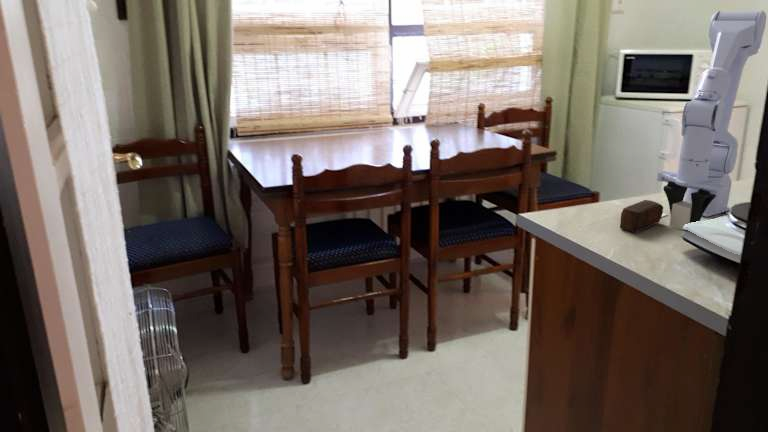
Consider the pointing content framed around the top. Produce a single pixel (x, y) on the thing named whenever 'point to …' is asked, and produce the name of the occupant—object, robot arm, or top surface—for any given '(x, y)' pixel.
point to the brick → (641, 215)
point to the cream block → (680, 214)
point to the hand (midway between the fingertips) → (684, 220)
